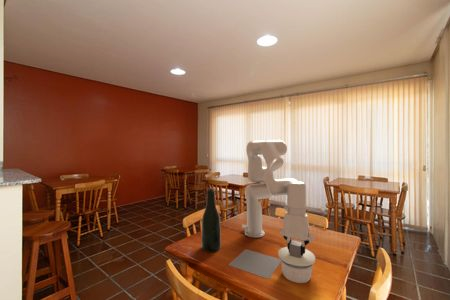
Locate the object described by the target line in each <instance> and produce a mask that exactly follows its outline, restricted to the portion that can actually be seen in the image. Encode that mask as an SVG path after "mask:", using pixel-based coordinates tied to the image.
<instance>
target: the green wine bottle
mask: <svg viewBox="0 0 450 300" xmlns="http://www.w3.org/2000/svg"><path fill="white" fill-rule="evenodd" d="M215 194H216V192H215V189H214V188H213V187H208V188H207V190H206V204H205V208H204V212H203V215H202V218H201V249H202V250H203V251H204V250H205V251H204V252H206V251H207V252H208V253H215V252H218V251H220V249H221V246H222V241H221V240H222V239H221V237H222V235H221V219H220V214H219V211H218V208H217V207H216V197H215V196H216V195H215ZM214 251H215V252H214ZM207 252H206V253H207Z"/></svg>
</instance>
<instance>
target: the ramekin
mask: <svg viewBox="0 0 450 300" xmlns="http://www.w3.org/2000/svg"><path fill="white" fill-rule="evenodd" d="M280 265H281V272H282V275H283V276H284V278H286V279H287V280H288V281H291V282H293V283H297V284H306V283H307V282H309V281H310V280H311V278H312V274H313V273H312V271H313V268H314V263H313V264H312V265H309V266H294V265H291V264H288V263H286V262H284V261H282V260H281V262H280Z"/></svg>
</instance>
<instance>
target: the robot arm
mask: <svg viewBox="0 0 450 300" xmlns="http://www.w3.org/2000/svg"><path fill="white" fill-rule="evenodd" d="M287 151H288V146H287V144H286V142H285V141H284V140H282V139H267V140H252V141H251V140H250V141H249V142H247V144H246V155H247V160H248V167H247V177H248V181H249V182H250V184H248V185H247V186H245V189H244V192H245V200H246V224H241V229H243V230H244V235H245V236H247V237H249V238H255V239H256V238H257V239H258V238H262V237H264V236H265V231H264V230H263V207H262V204H261V202H260V200H261V199H262V200H263V199H270V198H271V197H272V196H275V197H278V196H286V205H284V206H283V210H285V213H284V216H283V217H284V218H283V227H282V230H280V231H279V234H280V235H281V236H282V237H283V239H284V240H285V242H286V243H287V247H288V249H289V253H290V243H291V241H292V239H293V240H298V241H299V240H300V242H301V243H302V244H301V256H303V254H304V253H305V249H306V246H307V245H308V244H310V243H312V242H314V241H315V237H314V236H313V235H312V233H311V232H310V224H309V218H308V214H307V212H306V210H307V209H306V207H307V206H306V198H307V197H306V195H307V194H306V192H307V191H306V188H307V187H306V183H305V182H303V181H299V180H298V179H296V178H275V177H274V172H275V171H277V170H279V169H280V168H281V167H282V166H283V165H284V158H283V157H282V156H284V155H286V153H287ZM261 156H262V157H263V159H264V162H265V164H266V165H267V166H263V160H262V157H261Z"/></svg>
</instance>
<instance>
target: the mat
mask: <svg viewBox="0 0 450 300" xmlns="http://www.w3.org/2000/svg"><path fill="white" fill-rule="evenodd" d="M279 265H281V259H280V258H279V257H274V256H270V255H267V254H263V253H260V252H256V251H254V250H249V249H244V250H243V251H242V252H241V253H240V254H238V256H236V257H235V258H234V259H233V260H232V261H231V262H230V263H228V266H229V267H233V268H235V269H238V270H241V271H244V272H247V273H249V274H250V273H251V274H252V275H255V276H259V277H261V278H265V279H267V280H269V279H271V276H272V275H273V274H274V272H275V271H276V270H277V269H278V267H279Z"/></svg>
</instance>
